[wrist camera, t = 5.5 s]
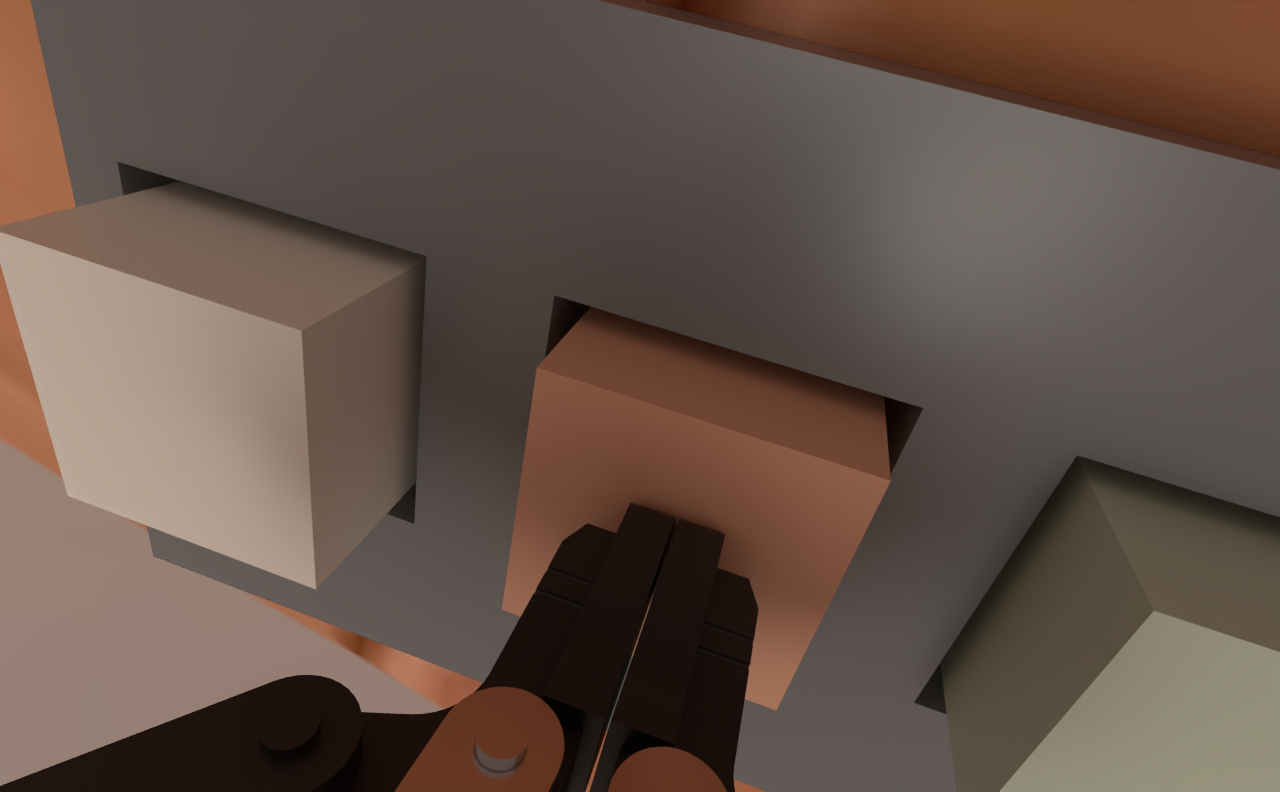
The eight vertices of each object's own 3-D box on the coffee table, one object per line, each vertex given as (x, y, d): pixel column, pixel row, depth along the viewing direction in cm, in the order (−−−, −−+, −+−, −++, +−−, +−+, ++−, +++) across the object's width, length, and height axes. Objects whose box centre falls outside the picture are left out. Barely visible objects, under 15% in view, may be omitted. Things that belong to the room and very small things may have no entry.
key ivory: (209, 173, 13) (-11, 228, 10) (448, 246, 13) (301, 330, 9) (234, 393, 16) (68, 495, 13) (434, 462, 15) (315, 589, 12)
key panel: (171, -117, 12) (-2, -149, 10) (1690, 258, 10) (1995, 347, 7) (243, 485, 20) (154, 556, 17) (1122, 804, 17) (1170, 946, 14)
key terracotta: (617, 276, 13) (536, 367, 10) (880, 354, 13) (891, 481, 9) (577, 481, 16) (501, 609, 12) (793, 554, 15) (776, 710, 12)
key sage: (1064, 433, 11) (1153, 611, 8) (1395, 533, 11) (1644, 771, 7) (936, 635, 14) (962, 833, 11) (1197, 725, 13) (1314, 966, 10)
